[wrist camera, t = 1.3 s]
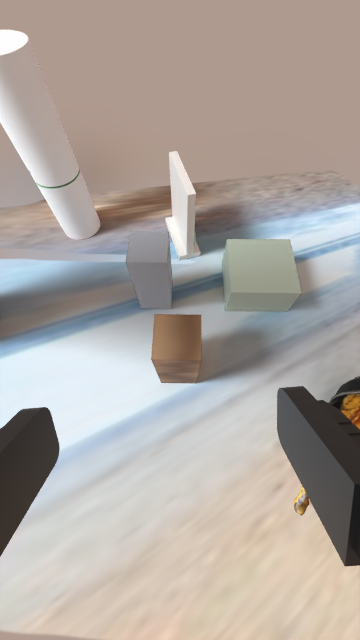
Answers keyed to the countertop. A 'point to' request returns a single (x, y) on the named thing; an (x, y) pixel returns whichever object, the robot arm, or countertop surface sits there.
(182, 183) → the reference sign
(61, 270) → the countertop surface
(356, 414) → the small rounded object
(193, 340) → the walnut block
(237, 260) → the sage base block
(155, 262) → the slate block
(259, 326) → the countertop surface
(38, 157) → the cylindrical container
